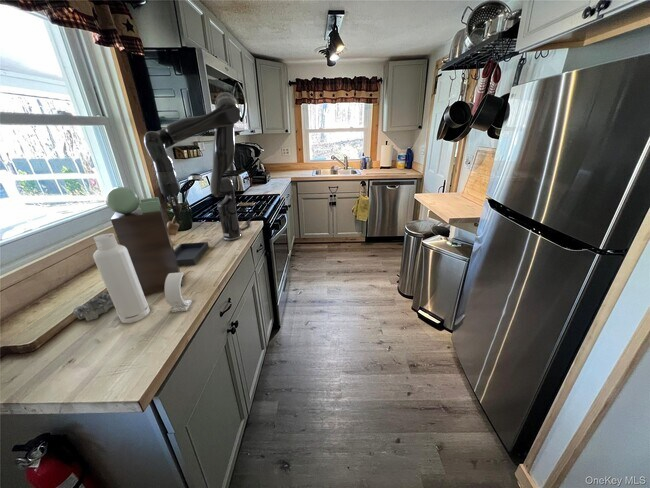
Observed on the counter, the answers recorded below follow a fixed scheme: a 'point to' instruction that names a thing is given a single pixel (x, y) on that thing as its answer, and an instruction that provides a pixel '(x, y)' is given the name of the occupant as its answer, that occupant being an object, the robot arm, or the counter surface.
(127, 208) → the flask
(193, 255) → the tray
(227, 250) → the counter surface
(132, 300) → the bottle
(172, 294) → the headphone stand
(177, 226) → the wooden mallet
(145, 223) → the stand
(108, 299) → the grey rock
